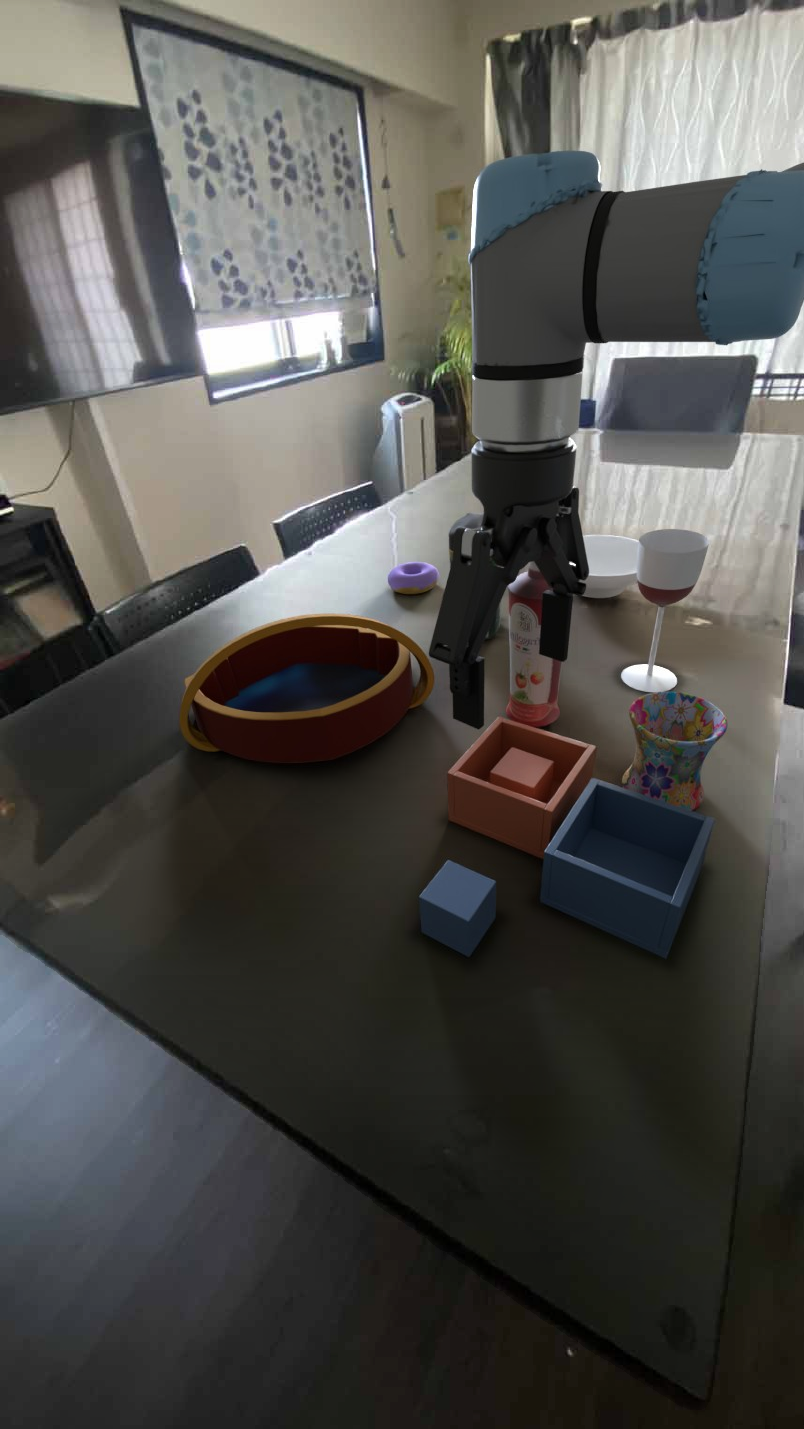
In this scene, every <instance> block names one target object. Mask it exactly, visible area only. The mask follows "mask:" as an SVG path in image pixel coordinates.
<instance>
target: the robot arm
mask: <svg viewBox="0 0 804 1429" xmlns="http://www.w3.org/2000/svg"><path fill="white" fill-rule="evenodd" d="M472 195H473V196H472V214H471V215H472V216H471V218H472V219H471V238H470V240H471V241H470V251H469V254H468V264H469V266H470V290H471V291H470V294H471V296H470V297H471V348H472V349H471V350H472V352H471V353H472V360H471V375H472V380H471V381H472V384H471V385H472V390H471V392H472V394H471V395H472V397H471V398H472V400H471V401H472V402H471V433H472V435H473V437H475V438H476V439H478V441H477V442H476V443H475V444H474V445H473V447H472V448H471V492H472V494H473V496H474V497H475V498H476V499H477V500H478V501H479V502H480V504H481V505H482V507H483V512H482V513H483V518H482V522H481V525H480V527H478V528H475V529H470V528H465V527H458V528H457V529H456V530H455V533H454V542H453V560H452V564H451V568H450V567H449V572H448V576H447V580H446V583H445V587H444V591H443V595H442V599H441V604H440V606H439V610H438V614H437V618H436V622H435V625H434V628H433V629H434V630H433V634H432V636H431V641H430V645H429V648H428V656H429V657H430V658H432V659H434V660H436V661H439V662H442V663H444V664H447V665H448V672H449V674H448V675H449V690H450V693H451V694H452V719H453V720H456V721H458V722H460V723H463V724H465V725H467V726H469V727H471V728H474V729H476V730H480V729H482V728H483V727H484V726H485V671H486V670H485V662H486V661H485V660H486V658H485V657H482V656H479V654H480V652H481V650H482V647H483V645H484V642H485V640H486V639H485V638H486V635H487V633H488V631H489V628H490V626H491V623H492V621H493V619H494V616H495V614H496V611H497V609H498V607H499V604H500V602H501V603H502V600H503V597H504V596H505V595H504V594H505V592H506V590H507V589H508V585H509V584H511V583H513V582H514V581H515V580H516V578H517V576H518V575H519V574H520V571H521V570H522V569H524V568H525V567H526V566H527V565H529V562H533V561H534V562H535V564H536V566H537V567H538V569H539V571H540V572H541V574H542V576H543V577H544V579H545V581H546V582H547V584H548V586H549V587H550V588H553V591H549V590H546V591H545V592H543V599H542V614H541V629H540V645H539V654H540V655H543V656H546V657H549V658H552V659H555V660H558V661H561V662H562V663H564V662H566V661H567V660H568V658H569V657H568V656H569V647H570V646H569V645H570V636H571V635H570V634H571V625H572V624H571V623H572V614H573V613H572V612H573V605H574V603H573V602H574V596H573V595H576V596H579V597H580V596H581V597H583V596H582V595H583V594H584V593H585V590H586V583H582V582H579V580H586V579H587V577H588V575H589V566H588V561H587V556H586V550H585V545H584V539H583V536H584V535H583V530H582V524H581V518H580V512H579V507H580V506H579V504H580V489H579V487H577V486H574V482H575V481H574V480H575V471H576V470H575V469H576V460H577V459H576V457H577V448H578V447H577V444H576V443H575V441H574V440H573V439H572V438H571V437H573V436H574V435H575V434H576V433H577V432H578V431H579V429H580V414H581V402H582V401H581V400H582V388H583V387H582V386H583V372H584V366H585V356H586V355H585V350H586V346H587V343H589V344H590V343H592V344H608V343H715V345H717V346H728V345H730V344H732V343H740V342H746V341H762V340H763V341H765V340H773V339H777V338H780V337H782V336H784V335H786V334H787V332H790V331H791V329H792V328H793V327H794V326H795V324H796V322H797V321H798V318H799V316H800V314H801V310H802V306H803V304H804V161H803V162H801V163H798V164H795V165H793V166H791V167H789V168H787V169H784V170H781V171H777V170H766V169H765V170H763V169H762V168H761V169H759V170H753V171H749V172H747V173H746V174H742V175H733V176H728V177H720V178H713V179H712V178H711V179H706V180H705V179H704V180H698V181H691V182H684V183H678V184H670V185H665V186H658V187H652V188H644V189H638V190H630V191H624V190H619V191H618V190H617V191H613V190H603V183H602V182H601V163H600V161H599V159H598V156H596V155H595V154H594V153H593V152H590V151H585V150H555V151H550V152H543V153H528V154H527V153H526V154H521V155H516V156H515V155H514V156H511V157H510V156H509V157H506V158H505V157H504V158H502V159H499V160H496V161H493V162H491V163H489V164H488V165H487V166H485V167H484V168H483V169H482V170H481V171H480V172H479V174H478V176H477V178H476V180H475V182H474V187H473V194H472ZM490 558H492V560H493V561H494V563H495V564H496V565H497V566H500V567H497V566H493V565H489V560H490ZM570 562H572V563H574V564H570Z"/></svg>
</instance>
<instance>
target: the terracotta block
mask: <svg viewBox="0 0 804 1429" xmlns="http://www.w3.org/2000/svg"><path fill="white" fill-rule="evenodd" d="M553 767H554V761H551V760H548V759H545V758H542V757H539V756H536V755H534V754H531V753H528V752H525V751H522V750H519V749H516V748H513V747H512V748H511V749H510V750H509V751H508V752H507V754H506V755H505V756H504V757H503V758H502V759H501V760H500V762H499V763H498V764H497V765H496V766H495V767H494V768H493V770H492V771H491V772H490V783H491V784H493V785H496V786H499V787H502V788H504V789H507V790H510V791H512V792H515V793H518V794H521V795H523V796H526V797H529V798H531V799H534V800H537V801H540V802H542V803H545V804H546V802H547V801H548V800H549V798H550V797H551V790H552V779H553Z"/></svg>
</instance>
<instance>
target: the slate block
mask: <svg viewBox="0 0 804 1429" xmlns="http://www.w3.org/2000/svg"><path fill="white" fill-rule="evenodd" d="M418 903H419V915H420V916H419V917H420V929H421V933H422V934H424V935H426V936H428V937H430V938H431V939H433V940H435V941H437V942H439V943H441V944H443V945H444V946H447V947H449V948H451V949H452V950H454V951H455V952H458V953H460V954H461V955H463V956H465V957H468V958H470V957H471V956H472V954H473V952H474V951H475V949H476V948H477V946H479V943H480V942H481V940H482V939H483V937H484V936H485V934H486V933H487V931H488V930H489V928H490V927H491V925H492V924H493V922H494V921H495V919H496V914H497V913H496V911H497V881H496V880H495V879H491V878H490V877H488V876H485V875H483V874H480V873H479V872H476V871H475V870H472V869H469V868H467V867H465V866H463V865H461V864H458V863H456V862H454V861H452V860H450V859H448V860H446V861H445V863H444V864H443V866H441V868H440V869H439V871H438V872H437V873H436V874H435V875H434V877H433V878H432V879H431V881H429V883H428V884H427V886H426V887H425V888H424V890H423V891H422V892H421V894H419V896H418Z"/></svg>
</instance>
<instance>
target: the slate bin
mask: <svg viewBox="0 0 804 1429" xmlns="http://www.w3.org/2000/svg"><path fill="white" fill-rule="evenodd" d="M715 822H716V818H713V817H711V816H709V815H705V814H702V813H699V812H696V811H694V810H692V811H690V810H687V809H684V808H681V807H678V806H675V805H672V804H669V803H666V802H663V801H660V800H657V799H654V798H651V797H648V796H645V795H642V794H639V793H636V792H633V791H630V790H627V789H624V788H623V787H621V786H619V785H615V784H612V783H609V782H606V781H603V780H600V779H597V778H595V777H592V779H591V780H590V782H589V784H588V785H587V787H586V788H585V790H584V791H583V793H582V794H581V796H580V797H579V799H578V801H577V802H576V804H575V805H574V807H573V808H572V810H571V811H570V813H569V814H568V816H567V818H566V819H565V821H564V822H563V824H562V825H561V827H560V828H559V830H558V831H557V833H556V835H555V836H554V838H553V839H552V841H551V842H550V844H549V845H548V847H547V848H546V850H545V851H544V859H543V861H542V862H543V864H542V875H541V887H540V898H539V902H540V903H542V904H544V905H546V906H549V907H550V908H552V909H555V910H557V911H560V912H561V913H563V914H566V915H569V916H571V917H573V918H575V919H577V920H579V921H582V922H584V923H586V924H587V925H591V926H593V927H595V928H597V929H600V930H601V931H604V932H606V933H608V934H611V935H612V936H614V937H617V938H619V939H622V940H623V941H626V942H628V943H630V944H632V945H635V946H636V947H639V948H641V949H643V950H646V951H648V952H650V953H652V954H654V955H657V956H659V957H661V958H663V959H668V955H669V952H670V950H671V948H672V945H673V942H674V940H675V937H676V935H677V932H678V929H679V927H680V925H681V922H682V919H683V917H684V914H685V911H686V909H687V906H688V904H689V901H690V899H691V897H692V893H693V891H694V888H695V885H696V883H697V880H698V878H699V875H700V873H701V870H702V868H703V863H704V860H705V857H706V853H707V849H708V846H709V843H710V839H711V836H712V832H713V829H714V826H715Z"/></svg>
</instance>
